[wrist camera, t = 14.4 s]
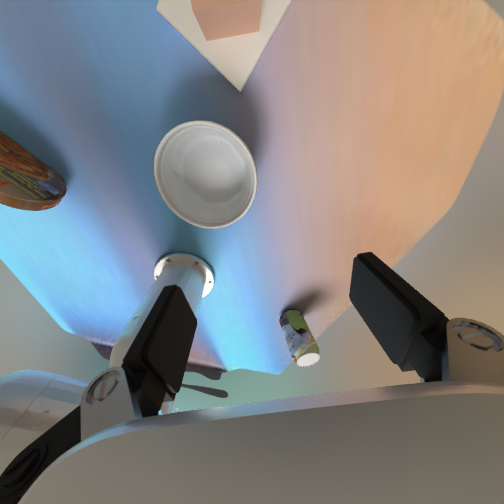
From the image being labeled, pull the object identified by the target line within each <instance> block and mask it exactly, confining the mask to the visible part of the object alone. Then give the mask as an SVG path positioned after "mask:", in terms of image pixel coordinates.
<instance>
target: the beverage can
mask: <svg viewBox="0 0 504 504" xmlns="http://www.w3.org/2000/svg"><path fill="white" fill-rule="evenodd" d="M279 321H280V325H281V328H282V331H283V333H284V336H285V339H286V342H287V345H288V348H289V351H290V354H291V356H292V359H293V360H294V361H295V362H296V363H297V365H298V366H300V367H308V366H311V365H313V364H315V363H316V362H317V361H318V360H319V358H320V356H319V348H318V346H317V344H316V342H315V340H314V338H313V336H312V334H311V332H310V330H309V327H308V325H307V323H306V321H305V319H304V317H303V315H302V314H301V312H299V311H297V310H289V311H287V312H285V313H284V314H283V315H282V316H281V317H280V320H279Z"/></svg>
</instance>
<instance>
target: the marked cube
mask: <svg viewBox="0 0 504 504" xmlns="http://www.w3.org/2000/svg"><path fill="white" fill-rule="evenodd" d="M261 3H262V0H191V5H192V10H193V13H194V15H195V17H196V19H197V21H198V24H199V26H200V28H201V30H202V32H203V34H204V37H205V39H206V41H211V40H216V39H221V38H227V37H232V36H237V35H242V34H248V33H253V32H258V31H259V27H260V15H261Z"/></svg>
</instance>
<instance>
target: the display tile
mask: <svg viewBox="0 0 504 504" xmlns="http://www.w3.org/2000/svg"><path fill="white" fill-rule="evenodd" d="M291 2H292V0H262V3H261V15H260V27H259V31H258V32H253V33H248V34H242V35H237V36H232V37H227V38H221V39H216V40H211V41H206V39H205V37H204V34H203V32H202V30H201V28H200V26H199V24H198V21H197V19H196V17H195V15H194V13H193V10H192V5H191V0H159V1H158V4H157V7H156V9H157V10H158V12H159V13H160V14H161V15H162V16H163V17H164V18H165V19H166V20H167V21H168V22H169V23H170V24H171V25H172V26H173V27H174V28H175V29H176V30H177V31H178V32H179V33H180V34H181V35H182V36H183V37H184V38H185V39H186V40H187V41H188V42H189V43H190V44H191V45H192V46H193V47H194V48H195V49H196V50H197V51H198V52H199V53H200V54H201V55H202V56H203V57H204V58H205V59H206V60H207V61H208V62H210V63H211V64H212V65H213V66H214V67H215V68H216V69H217V70H218V71H219V72H220V73H221V74H222V75H223V76H224V77H225V78H226V79H227V80H228V81H229V82H230V83H231V84H232V85H233V86H234V87H235V88H236V89H237V90H238V91H239V92H240V93H241V91H242V89H243V87H244V86H245V84H246V82H247V80H248V78H249V77H250V75H251V73H252V71H253V70H254V68H255V66H256V64H257V62H258V61H259V59H260V57H261V55H262V54H263V52H264V50H265V48H266V47H267V45H268V43H269V41H270V39H271V38H272V36H273V34H274V32H275V31H276V29H277V27H278V25H279V23H280V22H281V20H282V18H283V16H284V15H285V13H286V11H287V9H288V7H289V6H290V4H291Z"/></svg>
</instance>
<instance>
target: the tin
mask: <svg viewBox="0 0 504 504" xmlns="http://www.w3.org/2000/svg"><path fill="white" fill-rule="evenodd" d="M66 191H67V188H66V185H65V183H64V181H63V180H62V178H61V177H60V176H59V175H58V174H57V173H56V172H54V171H53V170H52V169H50V168H49V167H47V166H46V165H45V164H43V163H42V162H41V161H39V160H38V159H37V158H35V157H34V156H33V155H31V154H30V153H28V152H27V151H26V150H24V149H23V148H22V147H20V146H19V145H18V144H16V143H15V142H14V141H12V140H11V139H10V138H8V137H7V136H5V135H4V134H3V133H1V132H0V203H1V204H3V205H6V206H9V207H13V208H17V209H22V210H31V211H40V210H45V209H49V208H52V207H54V206H56V205H57V204H59V202H60V201H61V199H62V197H64V196H65V194H66Z"/></svg>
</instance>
